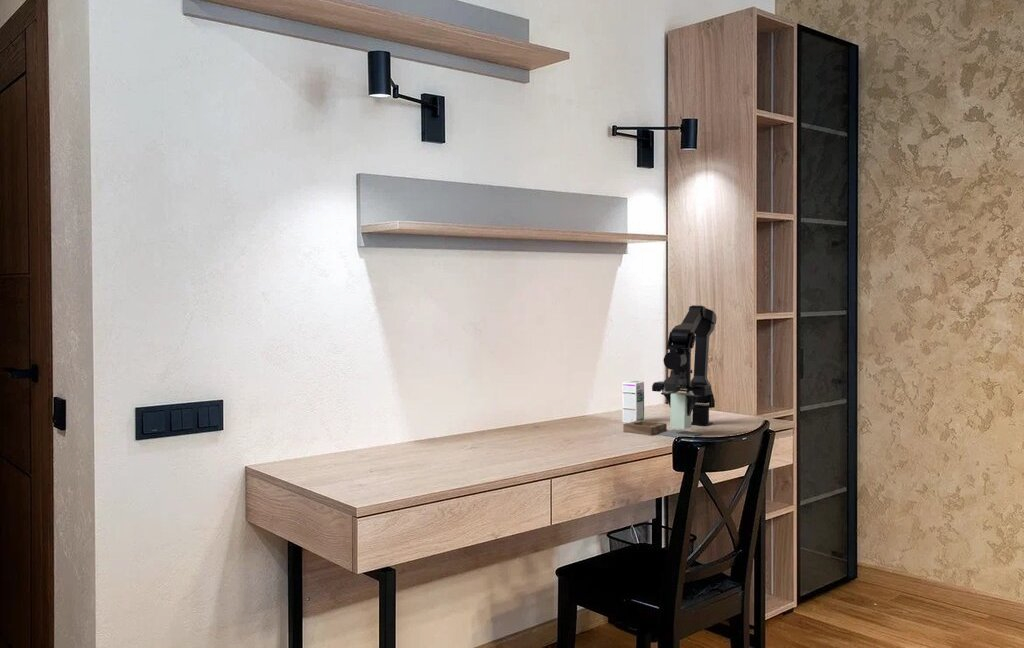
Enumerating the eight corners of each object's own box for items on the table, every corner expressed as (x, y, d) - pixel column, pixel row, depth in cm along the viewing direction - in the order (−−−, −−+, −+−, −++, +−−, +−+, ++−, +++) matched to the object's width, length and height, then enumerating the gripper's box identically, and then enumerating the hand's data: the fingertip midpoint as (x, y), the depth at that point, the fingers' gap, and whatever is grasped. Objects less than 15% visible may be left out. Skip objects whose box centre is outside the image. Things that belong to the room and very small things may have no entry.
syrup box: (636, 424, 295) (637, 382, 295) (621, 422, 299) (622, 381, 298) (644, 422, 300) (644, 381, 299) (629, 420, 303) (630, 380, 303)
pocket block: (639, 427, 289) (639, 420, 289) (666, 431, 283) (666, 423, 283) (623, 431, 281) (623, 424, 281) (651, 435, 274) (651, 427, 274)
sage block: (677, 425, 279) (677, 392, 279) (691, 427, 276) (691, 393, 276) (670, 427, 275) (670, 393, 275) (684, 429, 272) (684, 395, 272)
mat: (673, 430, 283) (673, 429, 283) (701, 434, 277) (701, 432, 277) (659, 435, 275) (659, 433, 275) (687, 438, 269) (687, 437, 269)
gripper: (643, 367, 274) (643, 415, 275) (697, 371, 263) (696, 421, 264) (660, 364, 283) (659, 410, 284) (712, 368, 272) (711, 416, 272)
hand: (681, 414), depth 276 cm, fingers closed on sage block, 5 cm apart
